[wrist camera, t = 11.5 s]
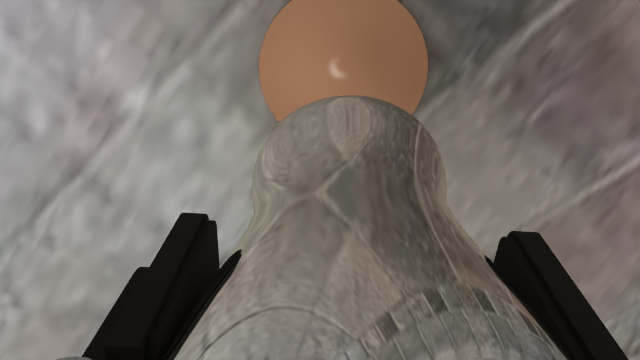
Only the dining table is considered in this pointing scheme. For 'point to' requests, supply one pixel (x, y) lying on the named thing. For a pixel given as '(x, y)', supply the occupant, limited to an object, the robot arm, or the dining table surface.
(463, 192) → the dining table surface
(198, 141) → the dining table surface
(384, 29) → the terracotta coaster
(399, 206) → the beer glass
